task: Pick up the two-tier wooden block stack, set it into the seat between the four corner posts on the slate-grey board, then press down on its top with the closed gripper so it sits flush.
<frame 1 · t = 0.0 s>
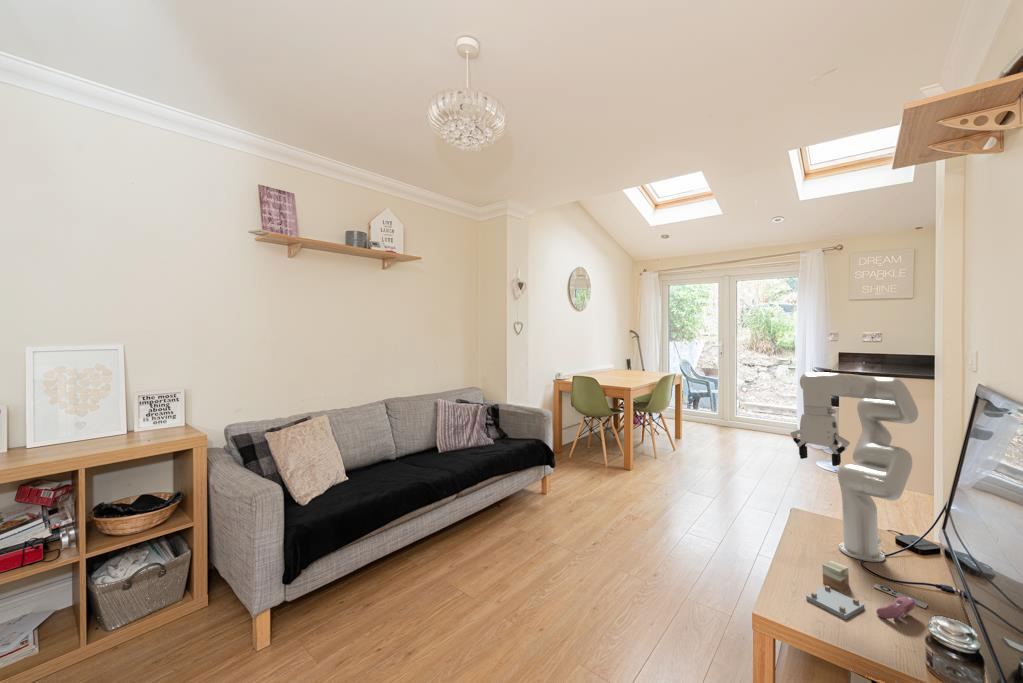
hand: (819, 461, 135), 37 cm above the table, tool pointing down, fingers open, 9 cm apart
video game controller: (897, 617, 112), on the table
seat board: (834, 603, 118), on the table
block stack: (835, 584, 127), on the table
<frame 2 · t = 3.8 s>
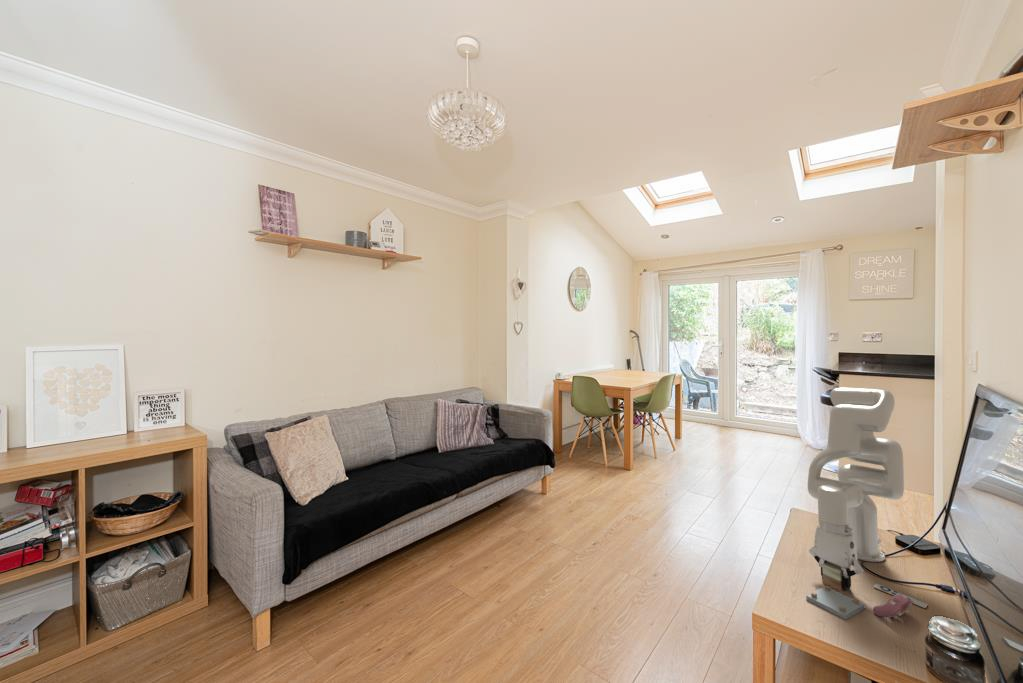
hand: (835, 583, 127), 0 cm above the table, tool pointing down, fingers closed on block stack, 4 cm apart
block stack: (835, 584, 127), on the table, touching gripper
when the fingers open (3 cm above the table, at t = 9.2 s): block stack drops 1 cm, resting on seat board.
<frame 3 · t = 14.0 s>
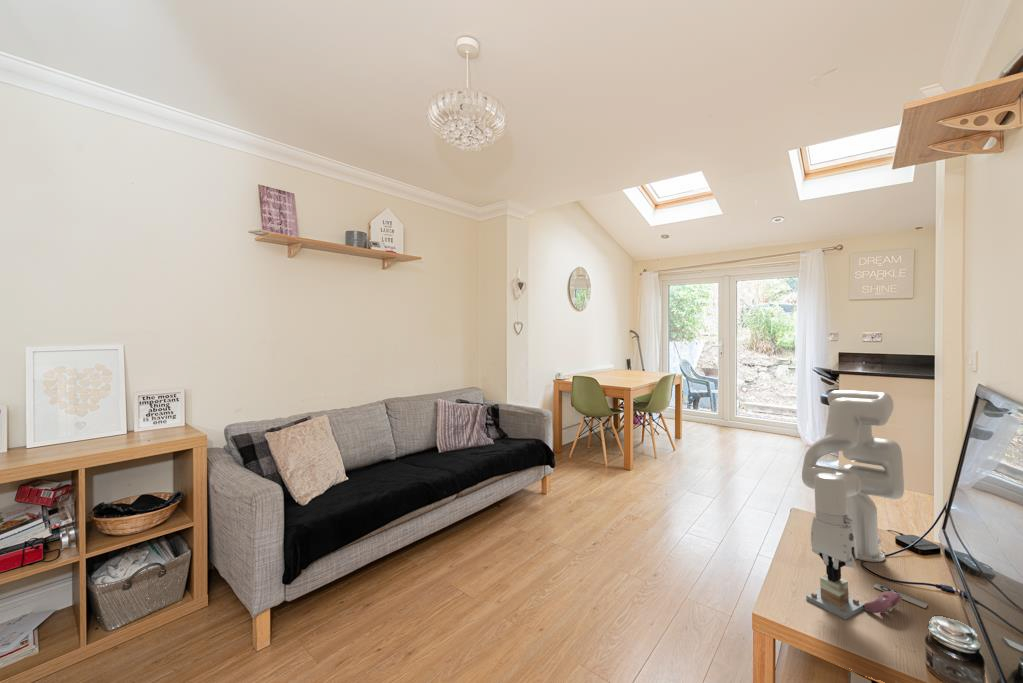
hand: (833, 579, 118), 7 cm above the table, tool pointing down, fingers closed
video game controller: (884, 611, 115), on the table
block stack: (834, 599, 118), point 1 cm above the table, touching gripper, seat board
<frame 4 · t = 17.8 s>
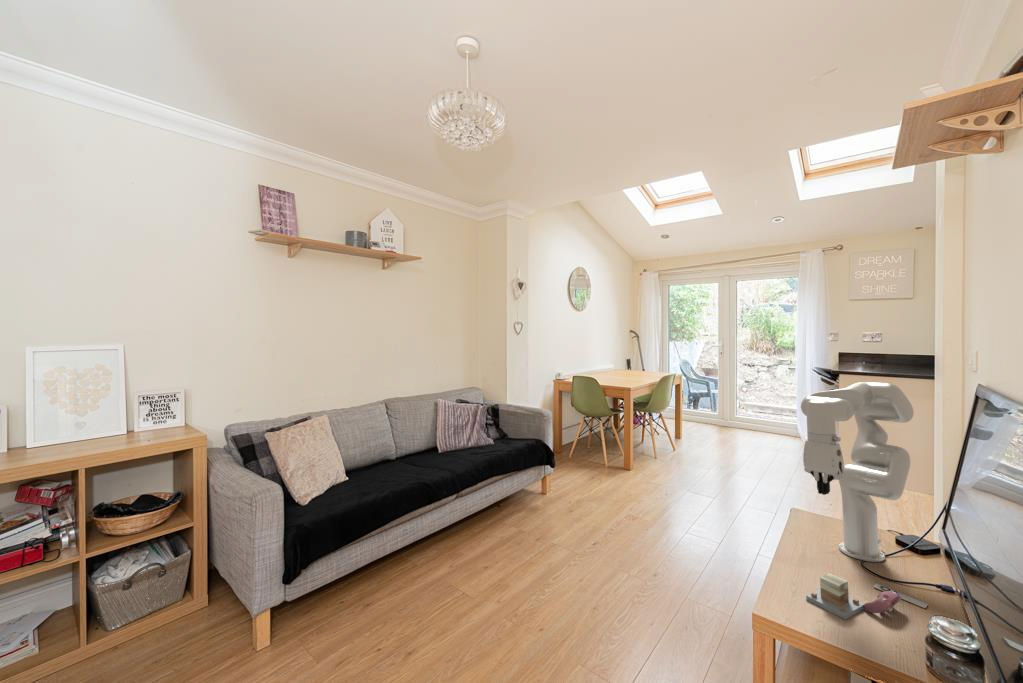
hand: (823, 493, 132), 27 cm above the table, tool pointing down, fingers closed
block stack: (834, 599, 118), point 1 cm above the table, touching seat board
everything else where it was.
at the end: block stack 0.0 cm off-centre on the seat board, point 1.2 cm above the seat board's base; block stack tilted 0°; the gripper is holding nothing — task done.
